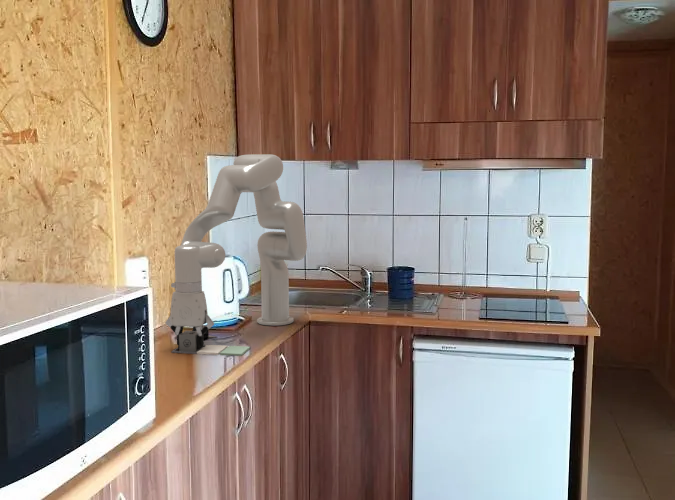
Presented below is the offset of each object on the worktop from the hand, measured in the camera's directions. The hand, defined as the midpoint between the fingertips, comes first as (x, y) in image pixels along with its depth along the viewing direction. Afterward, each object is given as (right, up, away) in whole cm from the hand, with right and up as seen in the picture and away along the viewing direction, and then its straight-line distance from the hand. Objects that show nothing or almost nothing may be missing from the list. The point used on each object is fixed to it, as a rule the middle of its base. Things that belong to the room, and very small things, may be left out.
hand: (190, 347), depth 205 cm
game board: (+7, -1, -1) cm, 7 cm away
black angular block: (0, 0, +14) cm, 14 cm away
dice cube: (0, -1, 0) cm, 1 cm away
